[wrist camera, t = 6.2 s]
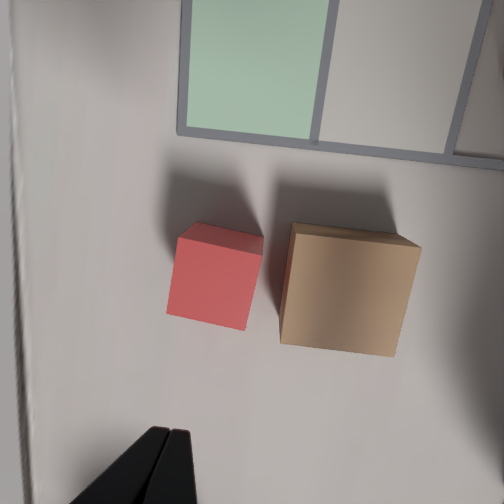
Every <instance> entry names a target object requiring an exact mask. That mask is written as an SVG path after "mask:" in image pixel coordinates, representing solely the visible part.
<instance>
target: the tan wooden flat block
mask: <svg viewBox="0 0 504 504" xmlns="http://www.w3.org/2000/svg"><path fill="white" fill-rule="evenodd" d="M421 249H422V248H421V247H420V246H418V245H416V244H414V243H413V242H411V241H409V240H407V239H406V238H404V237H402V236H400V235H399V234H392V233H383V232H374V231H365V230H357V229H348V228H339V227H330V226H321V225H313V224H304V223H295V222H292V227H291V234H290V242H289V249H288V256H287V263H286V270H285V277H284V284H283V291H282V299H281V306H280V313H279V329H280V343H281V344H289V345H297V346H305V347H313V348H321V349H330V350H338V351H346V352H354V353H362V354H371V355H379V356H387V357H394V355H395V351H396V347H397V343H398V339H399V335H400V331H401V327H402V323H403V319H404V315H405V312H406V308H407V304H408V300H409V296H410V292H411V288H412V284H413V280H414V276H415V272H416V268H417V265H418V261H419V257H420V253H421Z"/></svg>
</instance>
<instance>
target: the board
mask: <svg viewBox="0 0 504 504" xmlns="http://www.w3.org/2000/svg"><path fill="white" fill-rule="evenodd" d="M492 3H493V0H182V20H181V45H180V70H179V95H178V120H177V135H179V136H188V137H197V138H207V139H216V140H225V141H234V142H244V143H253V144H262V145H271V146H281V147H290V148H299V149H308V150H318V151H327V152H336V153H346V154H355V155H364V156H373V157H383V158H392V159H401V160H410V161H420V162H429V163H438V164H448V165H457V166H466V167H475V168H485V169H494V170H503V171H504V160H497V159H488V158H479V157H469V156H460V155H453V153H454V149H455V145H456V141H457V137H458V134H459V130H460V126H461V122H462V118H463V114H464V111H465V107H466V103H467V99H468V95H469V91H470V88H471V84H472V80H473V76H474V72H475V68H476V65H477V61H478V57H479V53H480V49H481V46H482V42H483V38H484V34H485V30H486V26H487V23H488V19H489V15H490V11H491V7H492Z"/></svg>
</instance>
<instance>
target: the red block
mask: <svg viewBox="0 0 504 504" xmlns="http://www.w3.org/2000/svg"><path fill="white" fill-rule="evenodd" d="M263 243H264V237H262V236H257V235H253V234H248V233H244V232H239V231H235V230H230V229H226V228H221V227H217V226H213V225H208V224H204V223H199V222H196V223H195V224H193V225H192V226H191V227H190V228H189V229H187V230H186V231H185V232H184V233H183V234H181V235H180V236H179V237H178V242H177V248H176V254H175V261H174V267H173V274H172V280H171V286H170V293H169V299H168V305H167V312H166V314H171V315H175V316H180V317H184V318H189V319H193V320H198V321H202V322H207V323H211V324H216V325H220V326H225V327H229V328H234V329H238V330H243V331H245V328H246V323H247V319H248V315H249V311H250V306H251V302H252V298H253V293H254V289H255V285H256V281H257V276H258V272H259V268H260V264H261V259H262V254H263Z"/></svg>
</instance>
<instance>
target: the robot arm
mask: <svg viewBox="0 0 504 504" xmlns="http://www.w3.org/2000/svg"><path fill="white" fill-rule="evenodd" d="M70 504H198V503H197V493H196V483H195V474H194V464H193V454H192V445H191V435H190V432H189V431H188V430H182V429H172V430H170V429H169V428H166V427H158V426H153V427H151V428H150V429H148V430H147V431H146V432H145V433H144V434H143V435H142V436H141V437H140V438H139V439H138V440H137V441H136V442H135V443H134V444H132V445H131V446H130V447H129V448H128V449H127V450H126V451H125V452H124V453H123V454H122V455H121V456H120V457H119V458H118V459H116V460H115V461H114V462H113V463H112V464H111V465H110V466H109V467H108V468H107V469H106V470H105V471H104V472H103V473H102V474H100V475H99V476H98V477H97V478H96V479H95V480H94V481H93V482H92V483H91V484H90V485H89V486H88V487H87V488H86V489H85V490H83V491H82V492H81V493H80V494H79V495H78V496H77V497H76V498H75V499H74V500H73V501H72V502H71V503H70Z"/></svg>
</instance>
